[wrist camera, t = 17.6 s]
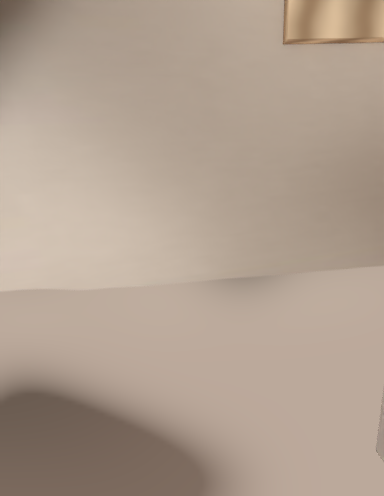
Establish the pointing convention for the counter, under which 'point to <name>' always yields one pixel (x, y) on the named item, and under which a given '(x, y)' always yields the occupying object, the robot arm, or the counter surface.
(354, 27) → the collar block
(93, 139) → the counter surface
